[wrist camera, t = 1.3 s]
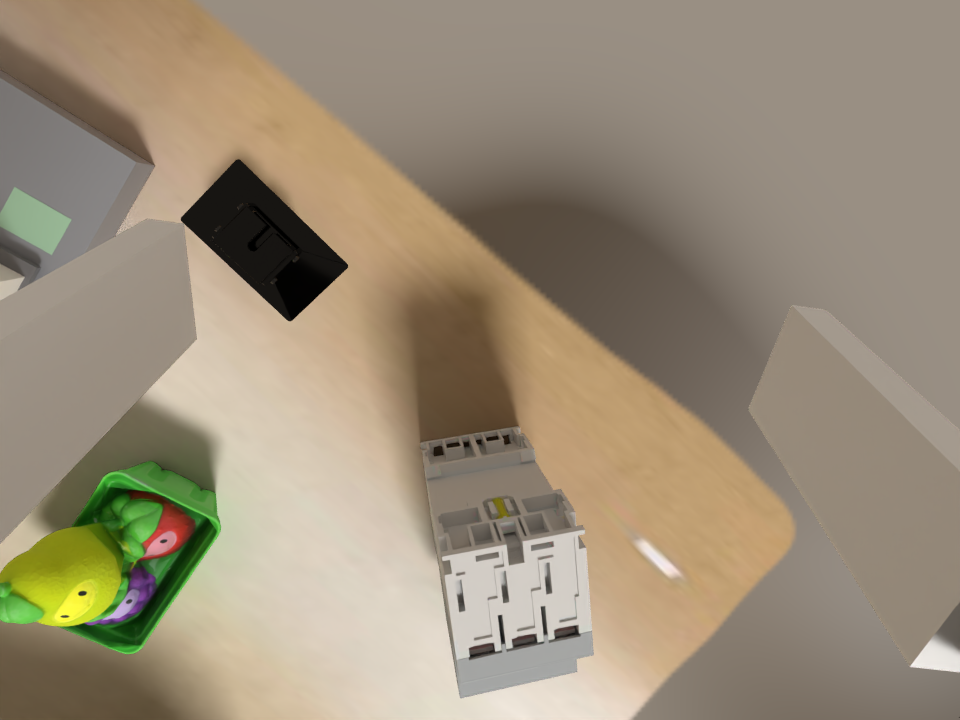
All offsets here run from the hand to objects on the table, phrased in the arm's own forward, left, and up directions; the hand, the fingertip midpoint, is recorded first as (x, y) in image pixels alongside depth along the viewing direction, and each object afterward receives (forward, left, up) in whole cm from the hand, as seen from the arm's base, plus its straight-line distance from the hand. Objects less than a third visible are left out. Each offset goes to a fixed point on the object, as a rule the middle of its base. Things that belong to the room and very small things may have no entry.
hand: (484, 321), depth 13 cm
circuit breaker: (-15, -16, -29) cm, 36 cm away
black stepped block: (-5, +8, -30) cm, 31 cm away
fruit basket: (-27, +5, -29) cm, 40 cm away
